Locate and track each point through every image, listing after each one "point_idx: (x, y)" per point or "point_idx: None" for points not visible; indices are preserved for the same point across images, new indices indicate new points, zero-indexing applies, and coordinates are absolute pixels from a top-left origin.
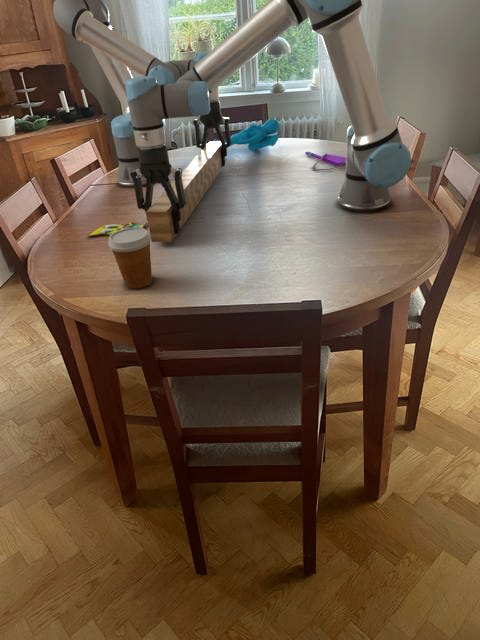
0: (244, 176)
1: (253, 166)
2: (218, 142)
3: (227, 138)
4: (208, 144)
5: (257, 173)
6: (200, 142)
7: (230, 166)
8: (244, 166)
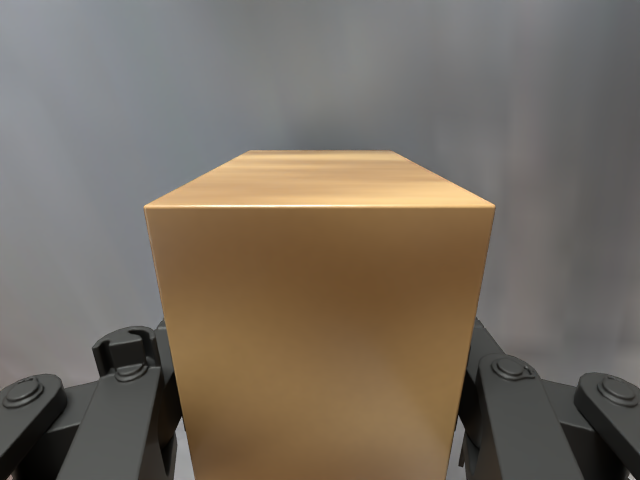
0: (536, 368)
1: (635, 126)
2: (385, 315)
3: None
4: (212, 424)
5: (633, 316)
6: (23, 450)
7: (418, 102)
8: (552, 117)
